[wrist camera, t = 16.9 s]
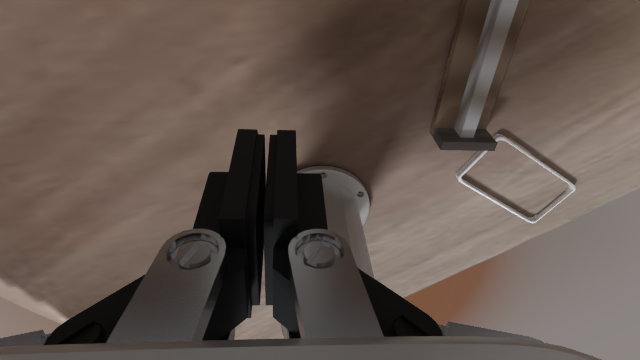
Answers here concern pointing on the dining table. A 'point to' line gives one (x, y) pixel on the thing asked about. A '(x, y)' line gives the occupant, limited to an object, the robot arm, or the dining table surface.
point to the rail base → (476, 72)
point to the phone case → (528, 219)
